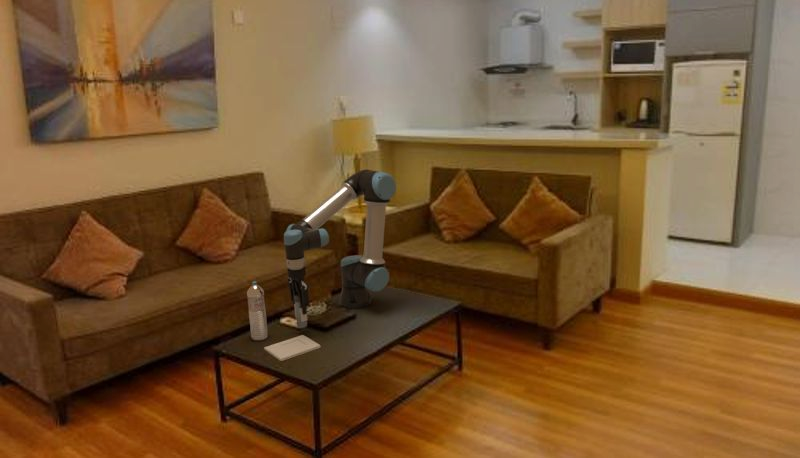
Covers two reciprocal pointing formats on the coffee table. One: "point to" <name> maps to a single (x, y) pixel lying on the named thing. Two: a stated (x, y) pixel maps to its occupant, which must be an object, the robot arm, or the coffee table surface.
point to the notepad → (292, 347)
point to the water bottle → (257, 312)
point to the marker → (297, 305)
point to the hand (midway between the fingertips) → (301, 319)
